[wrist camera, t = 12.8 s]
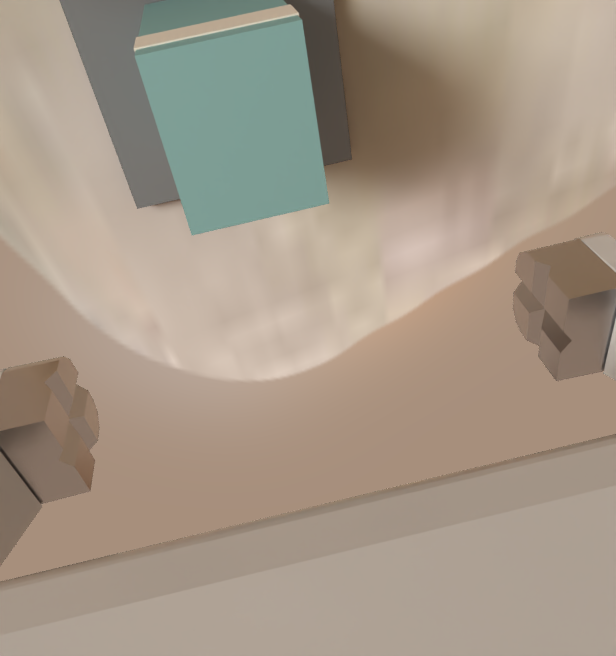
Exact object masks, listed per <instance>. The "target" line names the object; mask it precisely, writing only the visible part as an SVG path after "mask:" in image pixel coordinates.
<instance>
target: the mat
mask: <svg viewBox="0 0 616 656" xmlns="http://www.w3.org/2000/svg"><path fill="white" fill-rule="evenodd" d="M160 1H165V0H60V3H61V6H62V8H63V11H64V14H65V16H66V19H67V22H68V24H69V27H70V30H71V32H72V35H73V38H74V40H75V43H76V46H77V48H78V51H79V54H80V56H81V59H82V62H83V64H84V67H85V70H86V72H87V75H88V78H89V81H90V83H91V86H92V89H93V91H94V94H95V97H96V99H97V102H98V105H99V107H100V110H101V113H102V115H103V118H104V121H105V123H106V126H107V129H108V131H109V134H110V137H111V139H112V142H113V145H114V147H115V150H116V153H117V155H118V158H119V161H120V163H121V166H122V169H123V171H124V174H125V177H126V179H127V182H128V185H129V188H130V190H131V193H132V196H133V198H134V201H135V204H136V206H137V209H138V208H142V207H147V206H151V205H155V204H160V203H164V202H168V201H173V200H177V199H180V197H179V193H178V190H177V187H176V184H175V181H174V178H173V175H172V172H171V168H170V165H169V162H168V159H167V156H166V153H165V150H164V147H163V143H162V140H161V137H160V134H159V131H158V128H157V125H156V121H155V118H154V115H153V112H152V109H151V106H150V103H149V100H148V96H147V93H146V90H145V87H144V84H143V81H142V78H141V75H140V71H139V68H138V65H137V62H136V59H135V51H134V44H135V39H136V37H138V36H139V31H140V25H141V20H142V15H143V10H144V5H146V4H150V3H155V2H160ZM284 1H285V2H286V4H287V5H289V4H291V5H292V6H293V7H294V8H295V9H296V11H297V12H298V13H299V17H300V18H301V19H302V23H303V30H304V36H305V43H306V50H307V57H308V63H309V70H310V77H311V84H312V90H313V97H314V104H315V111H316V117H317V124H318V131H319V138H320V145H321V151H322V158H323V165H324V166H325V165H330V164H334V163H338V162H343V161H347V160H351V159H352V156H351V147H350V139H349V130H348V121H347V113H346V104H345V95H344V87H343V78H342V69H341V61H340V52H339V44H338V35H337V26H336V18H335V9H334V0H284Z"/></svg>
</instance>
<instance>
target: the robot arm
mask: <svg viewBox="0 0 616 656" xmlns="http://www.w3.org/2000/svg"><path fill="white" fill-rule="evenodd" d="M515 273H516V274H517V275H518V276H519V278H520V279H521V280H522V282H521V283H520V285H519V286H518V287H517V289H516V290H515V291H514V293H513V294H514V295H513V310H514V315H515V320H516V323H517V325H518V327H519V329H520V332H521V333H522V334H523V336H524V337H525V339H526V340H527V341H529V342H532V343H534V344H536V345H538V346H539V354H538V356H539V358H540V360H541V361H542V362H543V363H544V365H545V366H546V368H547V369H548V370H549V372H550V373H551V374H552V376H553V377H554V379H555V380H556V381H559V380H563V379H569V378H573V377H578V376H583V375H588V374H593V373H597V372H602V371H604V372H603V374H605V375H607V376H609V377H611V378H613V379H614V380H616V240H615V239H614V238H613V237H612V236H610V235H609V234H607V233H603V232H599V233H595V234H592V235H587V236H584V237H580V238H576V239H574V240H572V241H568V242H563V243H559V244H554V245H550V246H546V247H542V248H537V249H534V250H529V251H525V252H520V253H519V255H518V258H517V260H516V270H515ZM77 377H78V371H77V370H76V368H75V366H74V365H73V363H72V362H71V360H70V359H69V358H66V357H64V356H63V357H58V358H53V359H48V360H43V361H38V362H34V363H29V364H24V365H19V366H15V367H9V368H7V369H1V370H0V566H1V565H2V563H3V562H4V560H5V559H6V557H7V556H8V555H9V553H10V552H11V550H12V549H13V547H14V546H15V545H16V543H17V542H18V540H19V539H20V537H21V536H22V535H23V533H24V532H25V530H26V529H27V527H28V526H29V525H30V523H31V522H32V520H33V519H34V518H35V516H36V515H37V513H38V512H39V510H40V509H41V508H42V505H41V504H43V503H47V502H51V501H55V500H58V499H62V498H66V497H70V496H74V495H77V494H81V493H85V492H89V491H90V490H91V484H92V477H93V471H94V464H95V459H94V458H93V456H92V454H91V453H90V451H89V450H90V449H91V448H92V447H93V446H94V445H95V443H96V442H97V441H98V436H99V421H98V412H97V409H96V406H95V403H94V400H93V398H92V396H91V395H90V393H89V391H88V390H86V389H84V388H82V387H80V386H79V385H77V384H76V382H77ZM0 656H616V434H613V435H609V436H605V437H601V438H597V439H593V440H588V441H584V442H581V443H576V444H572V445H568V446H563V447H559V448H555V449H551V450H547V451H542V452H538V453H534V454H530V455H526V456H522V457H517V458H513V459H509V460H505V461H501V462H497V463H492V464H489V465H484V466H480V467H475V468H471V469H467V470H463V471H459V472H454V473H450V474H446V475H442V476H438V477H433V478H429V479H425V480H421V481H417V482H413V483H408V484H405V485H400V486H396V487H392V488H388V489H384V490H380V491H375V492H372V493H367V494H363V495H359V496H355V497H350V498H346V499H342V500H338V501H334V502H329V503H325V504H321V505H317V506H313V507H309V508H305V509H300V510H296V511H292V512H288V513H284V514H280V515H276V516H271V517H267V518H263V519H259V520H255V521H251V522H246V523H242V524H239V525H235V526H230V527H226V528H222V529H217V530H213V531H209V532H205V533H201V534H197V535H192V536H188V537H184V538H180V539H176V540H172V541H167V542H163V543H159V544H155V545H151V546H147V547H142V548H138V549H134V550H130V551H126V552H122V553H117V554H113V555H109V556H105V557H101V558H97V559H93V560H88V561H84V562H80V563H76V564H72V565H67V566H63V567H59V568H55V569H51V570H47V571H42V572H39V573H34V574H30V575H26V576H22V577H18V578H14V579H9V580H6V581H1V582H0Z"/></svg>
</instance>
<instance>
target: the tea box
mask: <svg viewBox="0 0 616 656" xmlns="http://www.w3.org/2000/svg"><path fill="white" fill-rule="evenodd" d="M134 51H135V59H136V62H137V65H138V68H139V71H140V75H141V78H142V81H143V84H144V87H145V90H146V93H147V96H148V100H149V103H150V106H151V109H152V112H153V115H154V118H155V121H156V125H157V128H158V131H159V134H160V137H161V140H162V143H163V147H164V150H165V153H166V156H167V159H168V162H169V165H170V168H171V172H172V175H173V178H174V181H175V184H176V187H177V190H178V193H179V197H180V200H181V203H182V206H183V209H184V212H185V215H186V219H187V222H188V225H189V228H190V231H191V234H192V235H196V234H200V233H204V232H209V231H213V230H217V229H221V228H226V227H230V226H234V225H239V224H243V223H247V222H252V221H256V220H260V219H264V218H269V217H273V216H277V215H282V214H286V213H290V212H295V211H299V210H303V209H307V208H312V207H316V206H320V205H325V204H329V199H328V192H327V185H326V178H325V172H324V165H323V158H322V151H321V145H320V138H319V131H318V124H317V117H316V111H315V104H314V97H313V90H312V84H311V77H310V70H309V63H308V57H307V50H306V43H305V36H304V30H303V23H302V19H301V18H300V17H299V13H298V12H297V11H296V9H295V8H294V7H293V6H292V5H291V4H289V5H287V4H286V2H285V1H284V0H165V1H160V2H155V3H150V4H146V5H144V10H143V15H142V20H141V25H140V31H139V36H138V37H136V39H135V44H134Z"/></svg>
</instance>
